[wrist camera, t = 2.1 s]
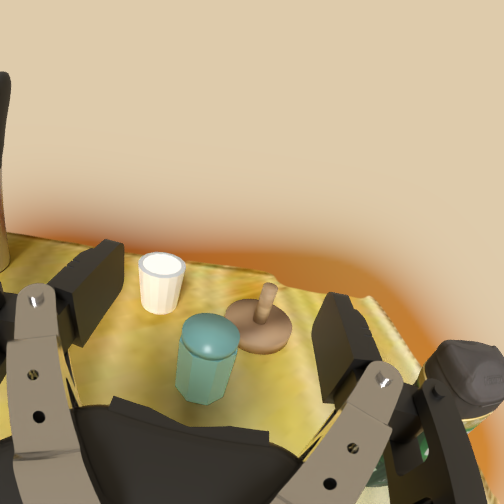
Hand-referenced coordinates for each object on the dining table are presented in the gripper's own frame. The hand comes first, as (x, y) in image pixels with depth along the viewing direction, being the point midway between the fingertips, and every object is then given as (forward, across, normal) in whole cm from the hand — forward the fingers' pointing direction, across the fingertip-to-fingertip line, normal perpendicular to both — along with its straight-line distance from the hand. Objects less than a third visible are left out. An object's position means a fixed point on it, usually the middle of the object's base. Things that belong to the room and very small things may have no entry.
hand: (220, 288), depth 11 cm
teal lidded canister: (+11, 0, +22) cm, 25 cm away
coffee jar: (+2, -22, +22) cm, 31 cm away
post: (+23, -6, +22) cm, 33 cm away
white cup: (+24, +9, +22) cm, 34 cm away
